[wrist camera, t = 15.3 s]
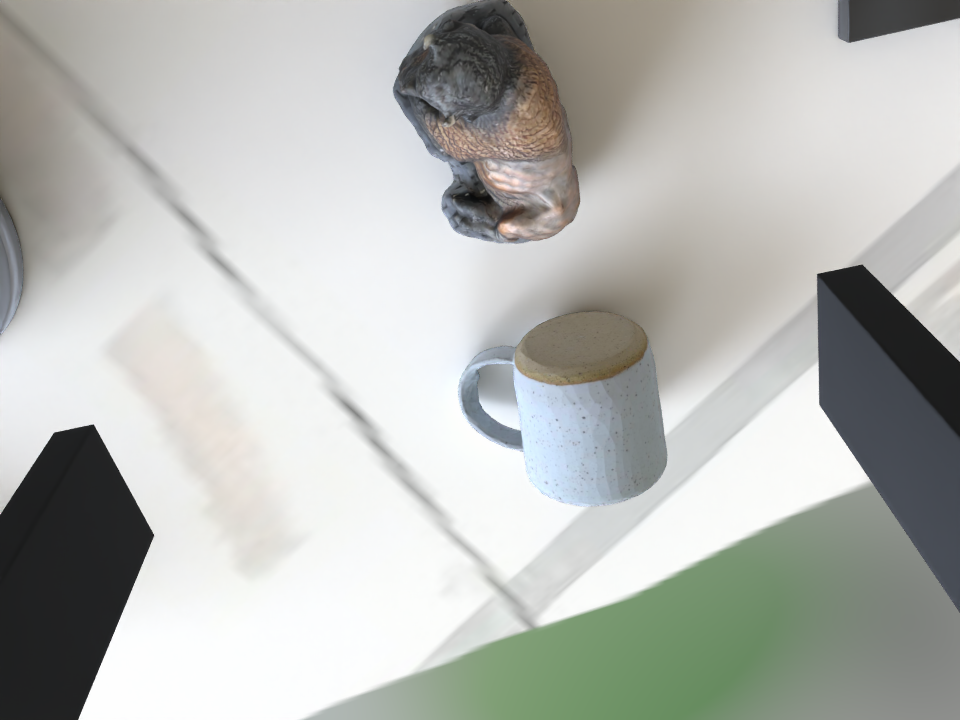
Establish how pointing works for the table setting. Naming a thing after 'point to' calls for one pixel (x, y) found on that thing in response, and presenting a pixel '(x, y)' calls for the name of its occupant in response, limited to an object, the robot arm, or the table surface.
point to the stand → (890, 16)
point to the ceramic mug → (579, 408)
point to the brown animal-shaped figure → (491, 124)
